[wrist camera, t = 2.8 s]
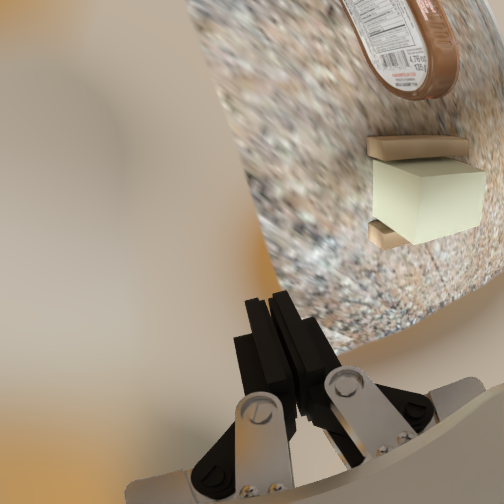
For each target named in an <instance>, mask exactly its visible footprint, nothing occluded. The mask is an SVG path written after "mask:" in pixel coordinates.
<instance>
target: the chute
mask: <svg viewBox="0 0 504 504" xmlns="http://www.w3.org/2000/svg"><path fill="white" fill-rule="evenodd" d="M366 141H367V155H368V156H372V157H375V158H378V159H381V160H384V161H391V160H401V159H413V158H426V157H443V156H467V155H469V140H466V139H462V138H458V137H454V136H446V135H400V136H376V137H366ZM368 238H369V239H370V240H371V241H372V242H373V243H375V244H376V245H377V246H378V247H379V248H380V249H382V250H383V251H384V250H387V249H391V248H394V247H397V246H401V245H404V244H408V243H410V242H409V241H408V240H406V239H405V238H404V237H402V236H401V235H400V234H398V233H397V232H395V231H394V230H393V229H391V228H390V227H388V226H387V225H385V224H384V223H383V222H381V221H380V220H379V221H375V222H370V223H369V226H368Z"/></svg>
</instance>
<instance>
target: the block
mask: <svg viewBox="0 0 504 504" xmlns="http://www.w3.org/2000/svg"><path fill="white" fill-rule="evenodd" d="M486 175H487V172H486V171H484V170H481V169H479V168H476V167H473V166H471V165H468V164H465V163H462V162H459V161H457V160H454V159H451V158H448V157H444V156H443V157H426V158H413V159H401V160H391V161H384V160H381V159H373V216H374V217H375V218H377V219H378V220H380V221H381V222H383V223H384V224H385V225H387V226H388V227H390V228H391V229H393V230H394V231H395V232H397V233H398V234H400V235H401V236H402V237H404V238H405V239H406V240H408V241H409V242H410V243H412V244H413V245H417V244H420V243H424V242H427V241H431V240H434V239H437V238H441V237H444V236H447V235H451V234H454V233H457V232H460V231H463V230H467V229H470V228H473V227H476V226H479V225H480V219H481V214H482V208H483V201H484V193H485V185H486Z"/></svg>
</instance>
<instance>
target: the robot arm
mask: <svg viewBox="0 0 504 504" xmlns="http://www.w3.org/2000/svg"><path fill="white" fill-rule="evenodd" d="M268 301H269V307H270V313H271V316H270V314H269V311H268V308H267V306H266V303H265V300H261V301H259V299H258V298H254V299H250V300H246V301H245V306H246V310H247V314H248V318H249V322H250V326H251V330H252V333H251V334H247V335H243V336H239V337H234V343H235V349H236V354H237V359H238V364H239V369H240V373H241V379H242V383H243V388H244V393H245V397H244V398H243V399H241V400H240V401H239V403H238V405H237V406H236V411H235V422H234V423H233V424H232V425H231V426H230V428H229V429H228V430H227V431H226V432H225V433H224V435H223V436H222V437H221V438H220V439H219V440H218V441H217V443H216V444H215V445H214V446H213V447H212V448H211V449H210V450H209V451H208V452H207V453H206V455H205V456H204V457H203V458H202V459H201V460H200V461H199V462H198V463H197V464H196V465H195V467H194V468H191V469H188V470H183V469H181V470H177V471H174V472H170V473H166V474H162V475H158V476H154V477H149V478H145V479H139V480H135V481H132V482H130V483H129V484H128V485H127V486H126V489H125V491H124V493H125V500H126V504H504V383H503V384H500V385H497V386H495V387H492V388H490V389H488V390H485V387H484V386H483V384H482V382H481V381H480V380H479V379H477V378H475V377H467V378H464V379H462V380H459V381H457V382H454V383H451V384H449V385H446V386H443V387H440V388H437V389H434V390H432V391H429V393H428V394H425V395H421V394H418V393H413V392H409V391H404V390H400V389H395V388H391V387H387V386H383V385H379V384H375V383H373V381H372V380H371V379H370V378H369V377H368V376H367V374H366V373H365V372H363V371H362V370H361V369H359V368H357V367H354V366H342V365H341V364H340V362H339V360H338V358H337V356H336V355H335V353H334V351H333V349H332V347H331V346H330V344H329V342H328V340H327V338H326V337H325V335H324V333H323V331H322V330H321V328H320V326H319V324H318V322H317V321H316V319H315V318H314V317H310V318H307V319H303V320H301V318H300V316H299V314H298V312H297V310H296V308H295V306H294V304H293V302H292V300H291V298H290V296H289V294H288V292H287V291H286V290H285V291H281V292H277V293H273V298H269V299H268ZM296 404H297V407H298V409H299V412H300V414H301V416H305V415H306V416H307V419H308V421H312V423H313V425H314V426H317V427H320V428H322V429H323V432H324V433H325V435H326V437H327V438H328V440H329V441H330V443H331V445H332V446H333V448H334V449H335V451H336V452H337V454H338V455H339V457H340V458H341V460H342V462H343V463H344V465H345V466H346V468H347V469H348V470H347V471H345V472H342V473H340V474H337V475H334V476H331V477H329V478H326V479H323V480H320V481H316V482H314V483H310V484H307V485H303V486H300V487H296V488H295V486H294V478H293V469H292V461H291V453H290V445H289V441H290V439H291V438H292V437H293V435H294V433H295V432H296V422H295V418H297V410H296Z"/></svg>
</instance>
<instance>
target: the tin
mask: <svg viewBox="0 0 504 504" xmlns="http://www.w3.org/2000/svg"><path fill="white" fill-rule="evenodd" d="M340 2H341V4H342V6H343V8H344V10H345V12H346V14H347V16H348V18H349V20H350V23H351V25H352V27H353V29H354V31H355V34H356V36H357V38H358V41H359V43H360V46H361V48H362V51H363V53H364V56H365V58H366V60H367V62H368V64H369V66H370V68H371V69H372V71H373V73H374V74H375V76H376V77H377V78H378V80H379V81H380V82H381V83H382V84H383V85H384V86H385V87H386V88H387V89H388V90H389V91H390V92H392V93H393V94H395V95H397V96H399V97H401V98H404V99H407V100H413V101H416V100H424V99H429V98H431V99H436V98H441V97H443V96H445V95H447V94H448V93H449V92H450V91H451V90H452V89H453V88H454V86H455V84H456V81H457V78H458V75H459V68H460V59H459V52H458V47H457V43H456V40H455V37H454V35H453V32H452V29H451V27H450V24H449V22H448V19H447V17H446V14H445V12H444V10H443V7H442V5H441V3H440V1H439V0H340Z"/></svg>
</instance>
